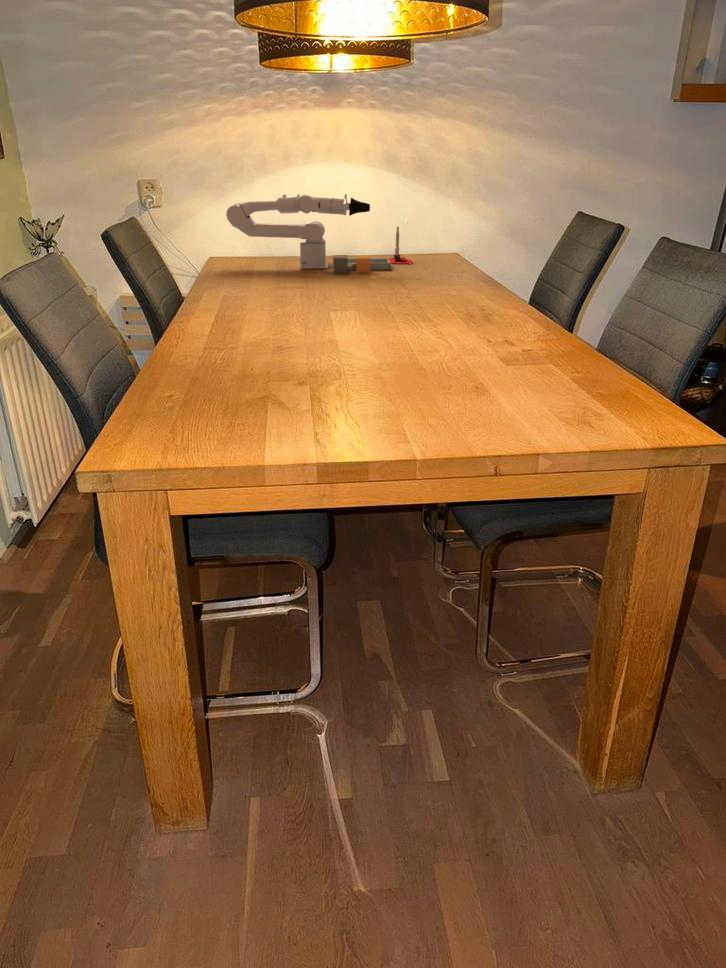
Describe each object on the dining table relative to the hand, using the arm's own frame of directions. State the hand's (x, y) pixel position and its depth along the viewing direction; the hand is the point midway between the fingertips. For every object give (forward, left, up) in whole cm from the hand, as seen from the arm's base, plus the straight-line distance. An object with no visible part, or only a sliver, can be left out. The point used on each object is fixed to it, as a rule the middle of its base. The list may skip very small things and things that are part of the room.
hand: (369, 207), depth 264 cm
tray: (-3, -1, -21) cm, 21 cm away
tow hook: (+12, +11, -21) cm, 27 cm away
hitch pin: (-8, -10, -21) cm, 24 cm away
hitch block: (-11, -10, -21) cm, 25 cm away
